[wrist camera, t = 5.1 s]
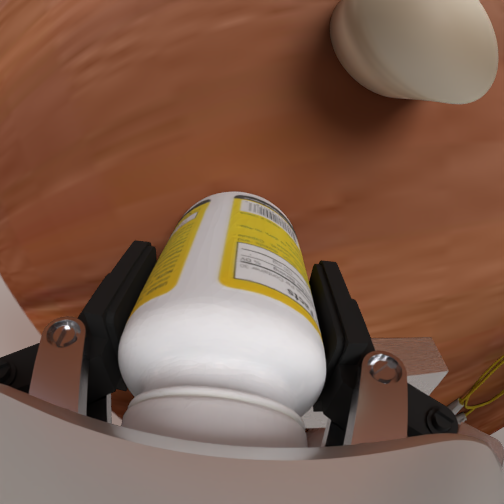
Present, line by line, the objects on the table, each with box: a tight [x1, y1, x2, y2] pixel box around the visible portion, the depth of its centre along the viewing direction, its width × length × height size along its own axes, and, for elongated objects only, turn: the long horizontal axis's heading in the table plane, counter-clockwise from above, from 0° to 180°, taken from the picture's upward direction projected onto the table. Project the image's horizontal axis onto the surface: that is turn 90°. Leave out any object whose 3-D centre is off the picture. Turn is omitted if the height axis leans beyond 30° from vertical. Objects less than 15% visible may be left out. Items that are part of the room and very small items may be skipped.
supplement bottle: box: [118, 192, 326, 448], centre depth 9 cm, size 5×5×10 cm
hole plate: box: [301, 337, 449, 448], centre depth 19 cm, size 18×18×3 cm
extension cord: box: [447, 355, 504, 424], centre depth 20 cm, size 12×16×2 cm
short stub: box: [330, 0, 498, 104], centre depth 6 cm, size 5×5×4 cm
